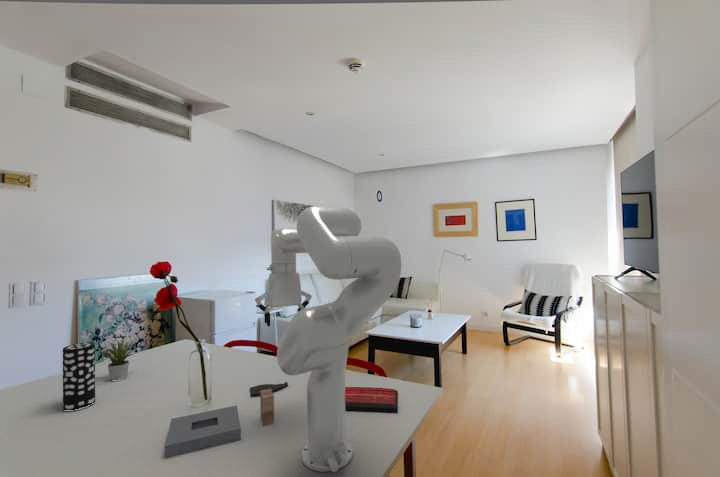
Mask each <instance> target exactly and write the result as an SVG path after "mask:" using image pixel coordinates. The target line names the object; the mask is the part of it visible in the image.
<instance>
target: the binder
mask: <svg viewBox="0 0 720 477" xmlns="http://www.w3.org/2000/svg"><path fill="white" fill-rule="evenodd" d="M345 404H346V412H354V413H380V414H381V413H382V414H398V390H396V389H394V388H383V387H368V386H366V387H364V386H363V387H361V386H345Z"/></svg>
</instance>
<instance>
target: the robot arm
mask: <svg viewBox="0 0 720 477" xmlns="http://www.w3.org/2000/svg"><path fill="white" fill-rule="evenodd" d="M361 231H362V221H361V218H360V217H359V215H358V214H357V213H356V212H355V211H354V210H351V209H349V208H345V207H338V206H337V207H335V206H333V207H332V206H321V205H320V206H319V205H317V206H315V205H313V206H309V207H307V208H305V209H304V210H302V211H301V213H300V214H299V216H298V218H297V223H296V227H282V228H280V229H273V230H272V232H271V237H270V242H271V252H270V253H271V254H270V255H271V259H270V260H271V263H270V265H267V266H266V271H270V272H271V273H269V274H268V281H267V290H266V292H264V293H263V294H262V295H260V296H258V297H256V298H255V299H254V300H255V303H256V305H257V306H258V308H259V309H260V310H261V311H262V312H263V313H264V324H266V325H267V327H270V326H271V312H270V311H271V309H272V308H279V307H280V308H281V307H292V306H293V307H294V306H297V307H298V308H297V310H296V313H295V314H294V315H293V316H292V318H291V320H290V322H289V323H288V325H287V327H286V328H285V330H284V332H283V334H282V336H281V338H280V340H279V342H278V346H277V349H276V350H277V351H276V360H277V365H278V367H279V368H280V370H281V371H282V373H284V374H286V375H287V376H297V375H302V374H307V373H308V372H310V374H309V377H308V380H307V386H306V406H307V407H306V408H307V409H306V410H307V411H306V414H307V415H306V416H307V444H306V445H305V446H304V447H303V448H302V450H301V460H302V463H303V464H304V465H305V466H306V467H307V469H309V470H310V469H311V470H312V471H315V472H322V473H323V472H324V473H325V472H333V473H336V472H337V471H339V470H340V469H342V468H343V467H345V466H346V465H348V463H349V462H351V460H352V458H353V454H354V453H353V452H354V449H353V446H352V444H351V443H350V441H348V440H347V411H346V404H345V387H346V368H347V361H348V360H347V359H348V355H349V343H352V341H354V339H356V338H357V337H358V335H359V334H360V333H361V331H362V330H363V329H364V327H365V326H366V325H367V324H368V323H369V322H370V320H371V319H372V318H373V317H374V315H375V314H376V313H377V312H378V311H379V310H380V309H381V307H383V306H384V304H385V303H386V302H387V301H388V300H389V298H390V297H391V296H392V295H393V293H394V292H395V290H396V288H397V287H398V286H397V285H398V284H399V281H400V279H401V273H402V256H401V253H400V249H399V248H398V246H397V245H396V244H395V242H393V241H392V240H390V239H388V238H385V237H381V236H373V235H360V233H361ZM297 254H308V256H309V257H310V259H311V261H312V262H313V263H314V265H315V267H316V268H317V269H318V271H319V272H320V274H321V275H322V276H323V277H325V278H327V279H329V280H335V281H337V280H349V279H355V280H353V281H352V282H351V283H349V284H347V286H345V287H344V288H343V289H342V290H341V292H340V293H339V295H338V297H337V298H336V299H335V300H334V301H332V302H331V303H328V304H322V305H316V306H315V305H314V306H309V307H307V306H308V305H309V304H310V301H311V299H312V295H311V294H310V293H308V292H305V291H303V290H302V284H301V278H300V273H299V272H297ZM302 296H303V297H305V299H304V301H303V302H302V298H303V297H302ZM264 299H265V300H266V305H264V304H263V303H262V301H263V300H264ZM365 328H366V327H365Z"/></svg>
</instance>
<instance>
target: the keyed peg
mask: <svg viewBox="0 0 720 477" xmlns="http://www.w3.org/2000/svg"><path fill="white" fill-rule="evenodd" d="M274 398H275V396H274V393H272V390H271V389H268V390H263V391H260V396H259V399H260V404H259V405H260V420H261V423H262V426H266V425H272V424H274V423H275V399H274Z"/></svg>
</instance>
